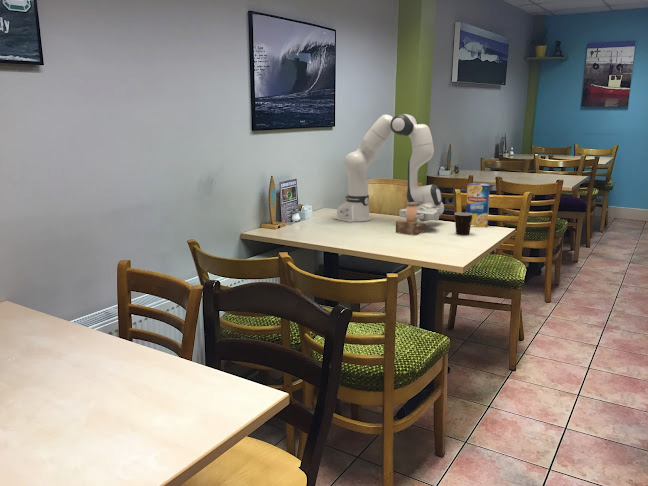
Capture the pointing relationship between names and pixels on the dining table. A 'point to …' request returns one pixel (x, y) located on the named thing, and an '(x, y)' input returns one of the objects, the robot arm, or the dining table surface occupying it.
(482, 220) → the blue yellow food box
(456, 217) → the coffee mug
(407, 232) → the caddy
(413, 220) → the canister
